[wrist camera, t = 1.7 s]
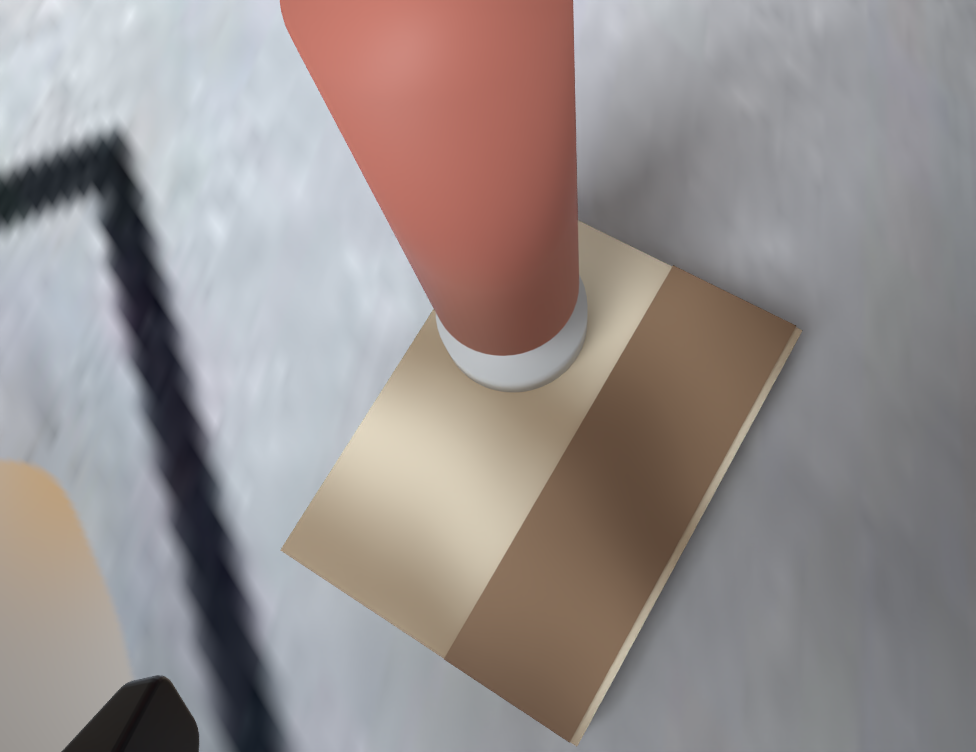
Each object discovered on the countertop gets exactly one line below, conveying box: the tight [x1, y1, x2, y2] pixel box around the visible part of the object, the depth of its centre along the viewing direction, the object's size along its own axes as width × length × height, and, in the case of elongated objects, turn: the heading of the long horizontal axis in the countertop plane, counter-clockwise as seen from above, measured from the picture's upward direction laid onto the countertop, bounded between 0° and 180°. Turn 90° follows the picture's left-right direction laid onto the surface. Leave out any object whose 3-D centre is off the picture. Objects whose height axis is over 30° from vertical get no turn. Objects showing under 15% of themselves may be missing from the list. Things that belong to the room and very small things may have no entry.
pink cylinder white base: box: [280, 0, 587, 393], centre depth 16 cm, size 4×4×13 cm
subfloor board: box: [281, 220, 802, 746], centre depth 22 cm, size 12×9×1 cm
